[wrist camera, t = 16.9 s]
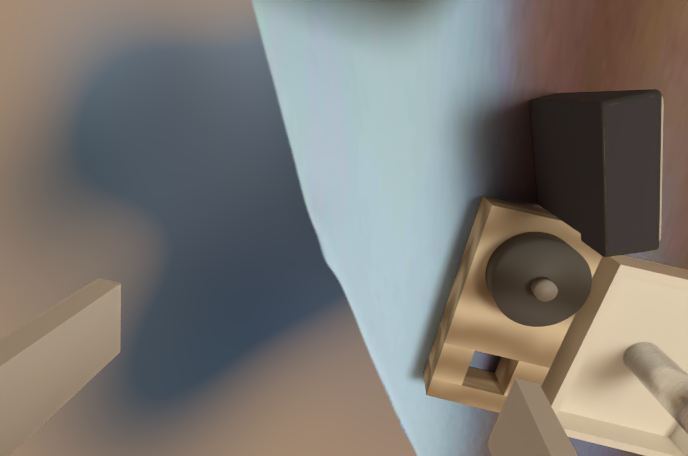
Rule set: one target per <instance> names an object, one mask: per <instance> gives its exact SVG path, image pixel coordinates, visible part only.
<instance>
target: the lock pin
mask: <svg viewBox="0 0 688 456" xmlns="http://www.w3.org/2000/svg"><path fill="white" fill-rule="evenodd" d="M623 361H624V364H625V365H626V366H627V368H628V369H629V370H630V371H631V372H632V373H633V374H634V375H635V376H636V378H637V379H638V380H639V381H640V382H641V383H642V384H643V385H644V386H645V387H646V389H647V390H648V391H649V392H650V393H651V394H652V395H653V396H654V397H655V398H656V400H657V401H658V402H659V403H660V404H661V405H662V406H663V407H664V408H665V410H666V411H667V412H668V413H669V414H670V415H671V416H672V417H673V418H674V419H675V421H676V422H677V423H678V424H679V425H680V426H681V427H682V428H683V429H684V431H685V432H686V433H687V434H688V373H686V372H685V371H684V370H683V369H682V368H681V367H680V366H679V365H678V364H676V363H675V362H674V361H673V360H672V359H671V358H670V357H669V356H668V355H667V354H665V353H664V352H663V351H662V350H661V349H660V348H659V347H658V346H656V345H655V344H653V343H650V342H639V343H636V344H633V345H632V346H630V347H629V348H628V349H627V350H626V351H625V353H624V356H623Z"/></svg>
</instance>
